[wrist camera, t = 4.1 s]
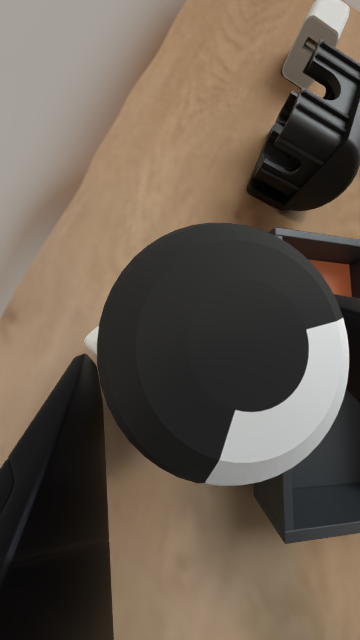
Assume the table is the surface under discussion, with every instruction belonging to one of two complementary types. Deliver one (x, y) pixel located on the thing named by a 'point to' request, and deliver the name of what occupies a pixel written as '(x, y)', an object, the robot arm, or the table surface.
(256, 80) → the table surface
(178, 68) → the table surface
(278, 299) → the medicine bottle
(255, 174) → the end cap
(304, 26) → the usb wall charger
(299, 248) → the divided tray
